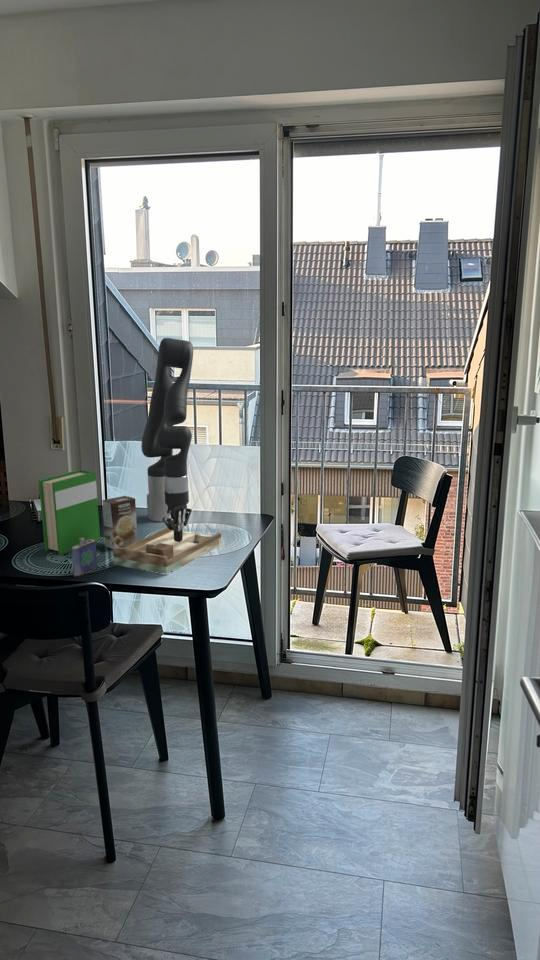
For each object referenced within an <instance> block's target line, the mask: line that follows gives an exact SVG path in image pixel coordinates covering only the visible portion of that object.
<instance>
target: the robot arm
mask: <svg viewBox="0 0 540 960" xmlns="http://www.w3.org/2000/svg"><path fill="white" fill-rule="evenodd" d="M193 360H194V346H193V343H192V342H191V341H189V340H183V339H178V338H177V339H176V338H170V337H163V338H162V339H161V341H160V343H159V345H158V353H157V361H156V371H155V377H154V383H153V387H152V392H151V395H150V396H151V397H150V402H149V403H150V404H149V407H148V408H149V409H148V415H147V420H146V424H145V427H144V430H143V434H142V437H141V445H140V446H141V452H142V455H144V457H146V458H159V457H160V458H159V460H158V461H156V462H155V463H153V464H151V465H149V466H148V467H147V486H148V489H147V490H148V494H147V493H146V510H147V512H146V513H147V519H148V520H150V521H152V522H158V521H162V522H163V523H164V524H165V526H166V528H167V527H168V529H169V530H173V531H174V540H175V541H176V542H180V541H182V540H183V539H182V538H183V531H184V528H185V527H187V525H188V522H189V519H190V517H191V514H192V511H193V510H192V508H189V507H188V504H189V503H190V499H189V498H190V496H189V495H190V494H189V478H188V455H189V450H190V446H191V443H192V437H193V434H192V433H193V432H192V431H191V428H189V427H188V426H187V425H186V426H185V425H179V424H183V423H185V421H186V419H187V413H188V412H187V410H188V409H187V408H188V407H187V406H188V393H189V392H188V391H189V386H190V381H191V374H192V367H193ZM167 367H168V368H173V369H181V370H180V371H181V372H180V374H179V376H178V378H177V379H176V380H175V381H174V382H173V381H172V379H171V377H170V375H169V372H168V369H167ZM179 449H180V451H179V452H178V453H176V454H173V452H174V451H173V450H179Z"/></svg>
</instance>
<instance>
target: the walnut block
mask: <svg viewBox="0 0 540 960" xmlns="http://www.w3.org/2000/svg"><path fill="white" fill-rule="evenodd" d="M149 553H151V554H156V555H161V556H166V557H168V559H170V558H172V557H174V556H173V545H168V544H163V543H159V544H157V545H155V546H153V547H151V548H150V552H149Z"/></svg>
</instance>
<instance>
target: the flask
mask: <svg viewBox="0 0 540 960" xmlns="http://www.w3.org/2000/svg"><path fill="white" fill-rule="evenodd" d="M81 538H82V537H81ZM81 538H80V539H81ZM80 539H79V540H80ZM96 544H97V541H95V540H92V539H91V540H87V541H85V539H84V538H82V539H81V541H80V544H78V545H76V546H74V547H72V550H71V555H72V568H73V569H72V570H73V576H74V577H77V576H78V577H82V576H84V575H85V574H88V573H89V572H92V571H94V570H96V568H97V569H98V561H97V559H98V556H97V545H96ZM93 569H94V570H93ZM91 570H92V571H91ZM87 572H88V573H87ZM81 575H82V576H81Z"/></svg>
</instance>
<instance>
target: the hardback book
mask: <svg viewBox="0 0 540 960" xmlns="http://www.w3.org/2000/svg"><path fill="white" fill-rule="evenodd" d="M97 488H98V487H97V473H96V472H95V471H91V470H86V469H77V470H73V471H70V472H69V471H68V472H65V473H61V474H58V475H54V476H53V475H52V476H50V477H46V478H42V479H38V490H39V501H40V510H41V511H40V512H41V521H42V530H43V531H42V532H43V542H44V551H46V552H48V551H50V550H53V551H56V552H57V553H58V555H63V554H65V553H67V552H72V547H74V546H76V545H78V544H80V541H81V539H82V538H84V539H85V541H87V540H91V539H92V540H95V541H96V542H97V541H99V540H101V532H100V531H101V530H100V519H99V518H100V516H99V504H98V489H97ZM81 537H82V538H81ZM80 538H81V539H80ZM79 539H80V540H79Z"/></svg>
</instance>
